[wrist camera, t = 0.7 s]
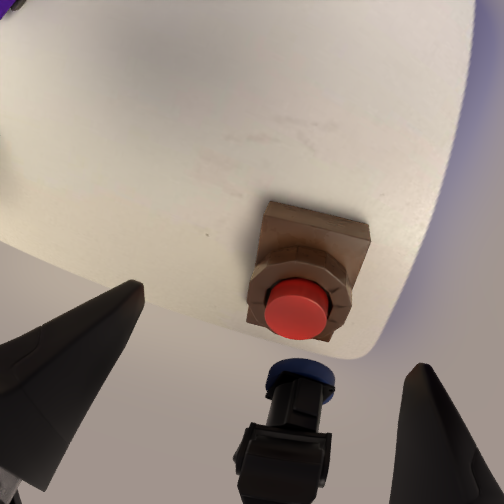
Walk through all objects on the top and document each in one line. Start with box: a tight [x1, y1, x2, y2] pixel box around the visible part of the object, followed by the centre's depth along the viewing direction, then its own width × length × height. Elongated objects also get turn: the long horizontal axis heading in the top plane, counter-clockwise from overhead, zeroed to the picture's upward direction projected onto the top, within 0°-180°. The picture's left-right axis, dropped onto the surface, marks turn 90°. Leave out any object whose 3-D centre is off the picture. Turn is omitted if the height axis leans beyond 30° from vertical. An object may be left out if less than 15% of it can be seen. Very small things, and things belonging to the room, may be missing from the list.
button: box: [265, 278, 328, 340], centre depth 21 cm, size 4×4×2 cm
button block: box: [246, 201, 371, 342], centre depth 23 cm, size 10×7×4 cm
